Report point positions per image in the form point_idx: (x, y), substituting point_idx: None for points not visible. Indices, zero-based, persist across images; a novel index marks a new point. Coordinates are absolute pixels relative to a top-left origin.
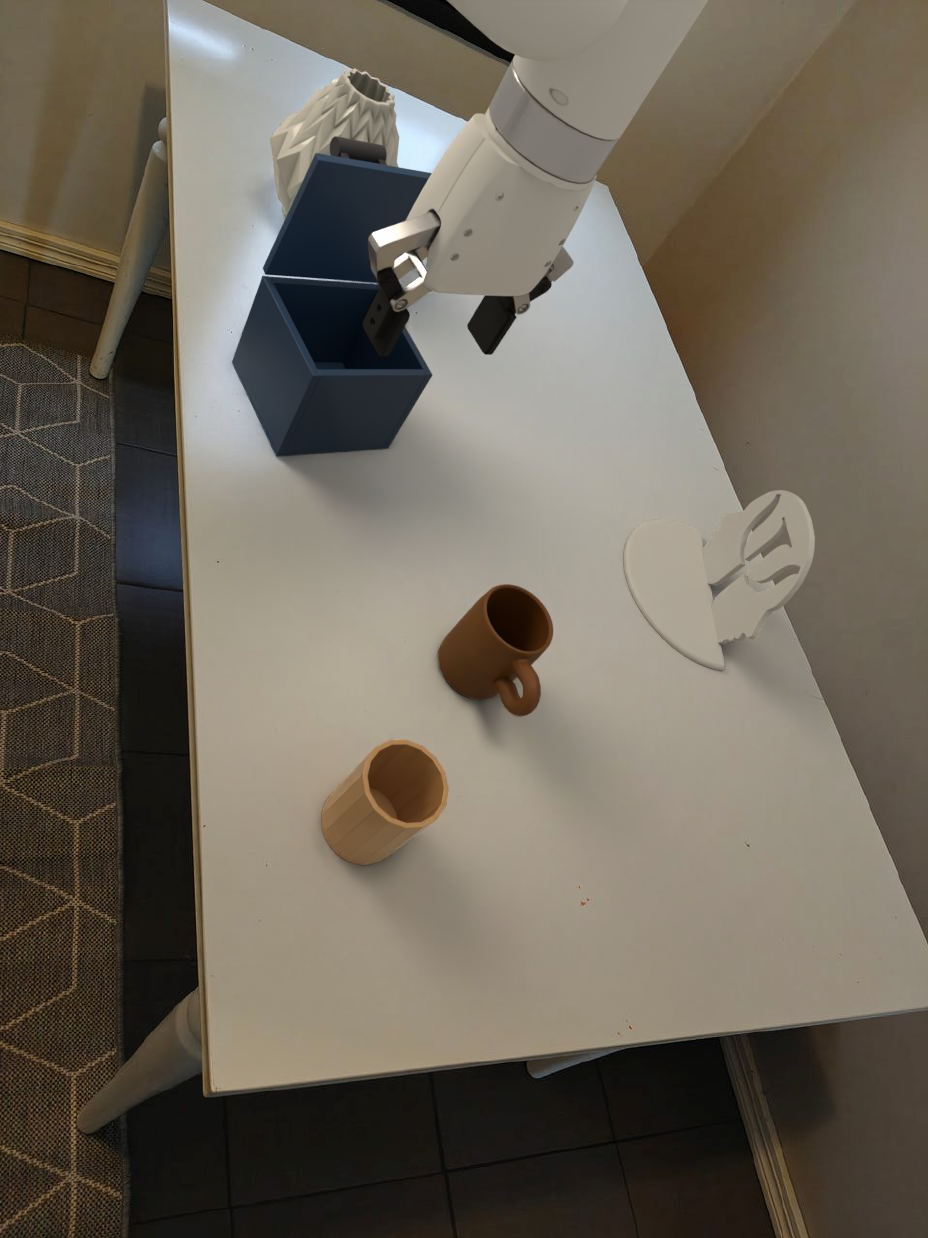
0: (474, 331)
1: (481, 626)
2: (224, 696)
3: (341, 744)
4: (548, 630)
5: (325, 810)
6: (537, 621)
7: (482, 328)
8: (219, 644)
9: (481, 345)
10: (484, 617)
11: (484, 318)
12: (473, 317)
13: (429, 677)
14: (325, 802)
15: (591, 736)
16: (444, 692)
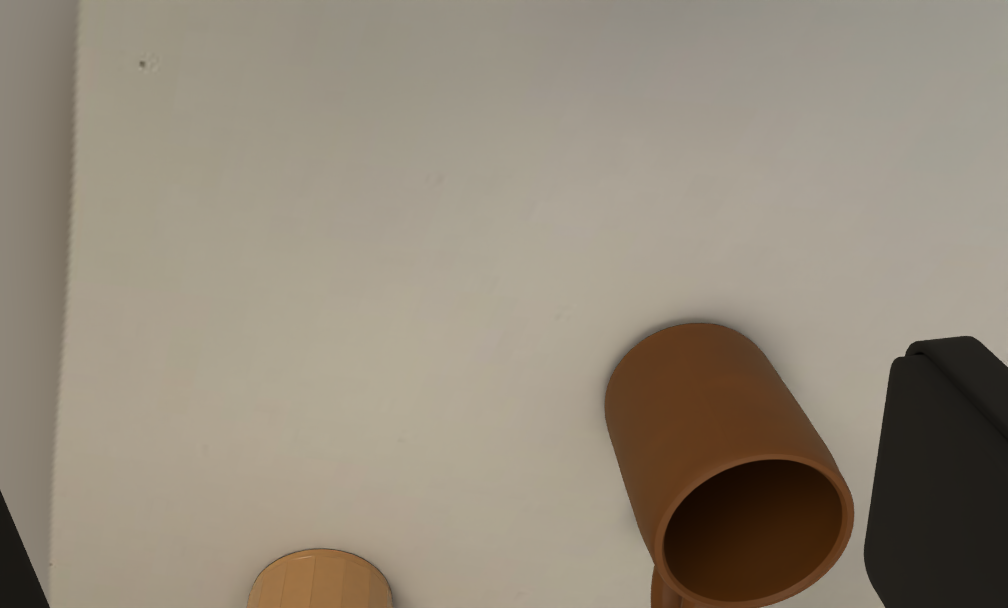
0: (901, 445)
1: (646, 522)
2: (112, 377)
3: (328, 488)
4: (824, 554)
5: (251, 596)
6: (828, 500)
7: (931, 544)
8: (116, 273)
9: (879, 535)
10: (656, 526)
11: (973, 569)
12: (942, 422)
13: (574, 397)
14: (265, 569)
15: None
16: (592, 430)
